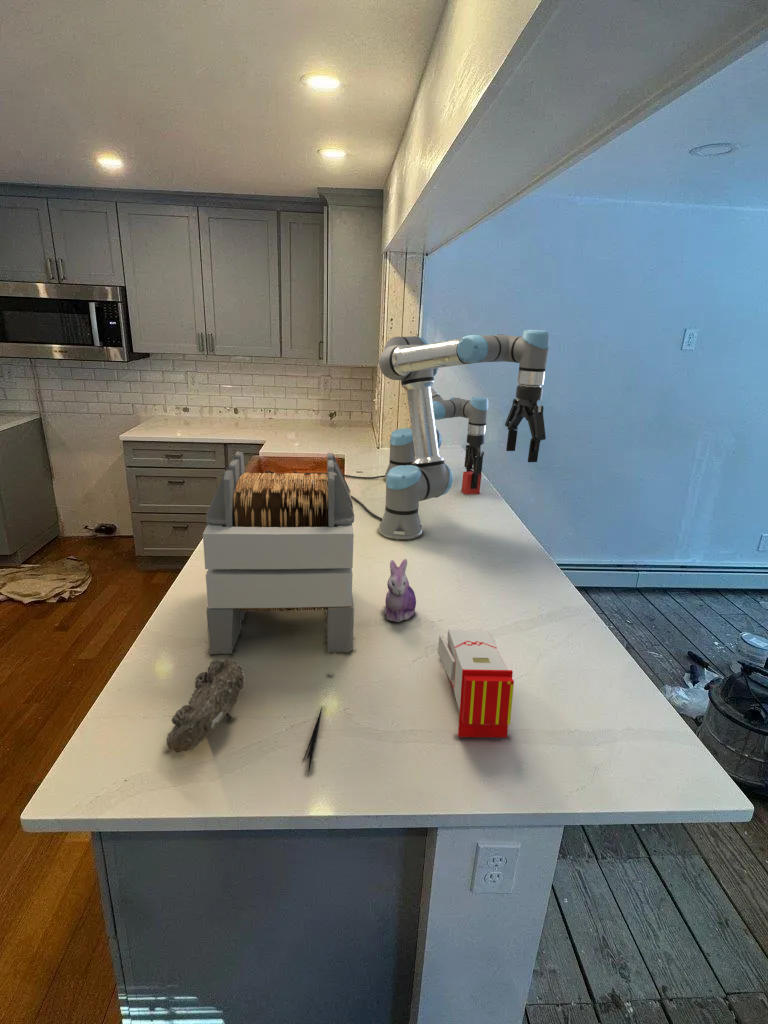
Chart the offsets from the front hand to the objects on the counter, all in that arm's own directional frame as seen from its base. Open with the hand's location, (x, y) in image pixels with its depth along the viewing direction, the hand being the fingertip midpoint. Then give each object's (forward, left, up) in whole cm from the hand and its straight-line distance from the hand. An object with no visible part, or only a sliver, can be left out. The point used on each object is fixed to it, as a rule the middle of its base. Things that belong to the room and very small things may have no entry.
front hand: (521, 456), depth 173 cm
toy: (+38, -62, -34) cm, 81 cm away
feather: (+26, -92, -34) cm, 101 cm away
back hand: (-54, +43, -31) cm, 76 cm away
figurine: (+6, -53, -34) cm, 63 cm away
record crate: (-11, -77, -34) cm, 85 cm away
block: (-54, +43, -34) cm, 77 cm away
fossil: (+13, -108, -34) cm, 114 cm away
